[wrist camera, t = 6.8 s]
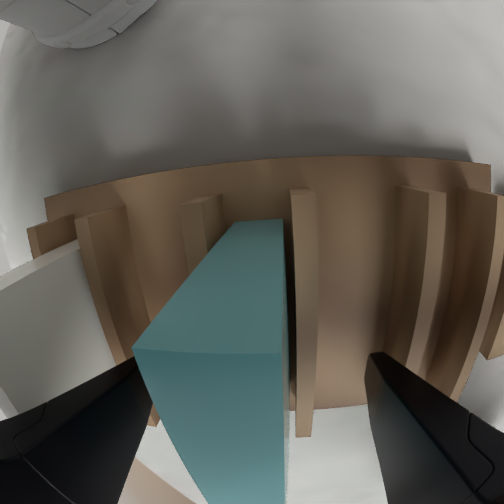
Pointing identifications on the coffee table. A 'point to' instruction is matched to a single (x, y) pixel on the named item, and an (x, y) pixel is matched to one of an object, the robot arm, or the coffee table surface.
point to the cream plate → (48, 330)
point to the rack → (307, 259)
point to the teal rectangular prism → (227, 367)
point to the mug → (73, 19)
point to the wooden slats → (495, 324)
